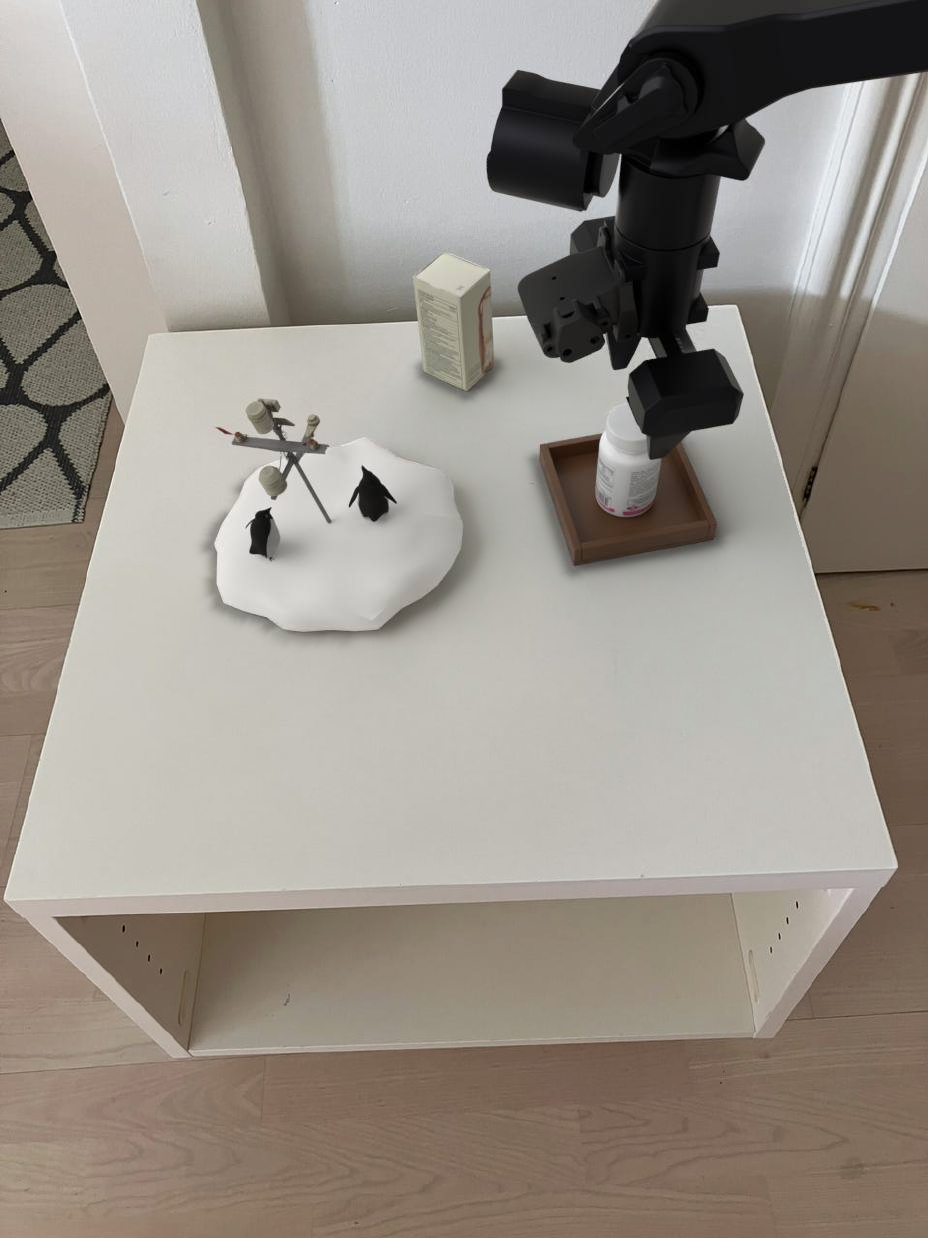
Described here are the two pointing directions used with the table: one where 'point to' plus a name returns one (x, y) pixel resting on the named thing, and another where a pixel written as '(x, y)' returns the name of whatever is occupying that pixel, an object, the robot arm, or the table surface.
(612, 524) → the tray
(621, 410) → the pill bottle
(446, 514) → the figurine
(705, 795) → the table surface
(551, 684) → the table surface
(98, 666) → the table surface
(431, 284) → the medicine box
